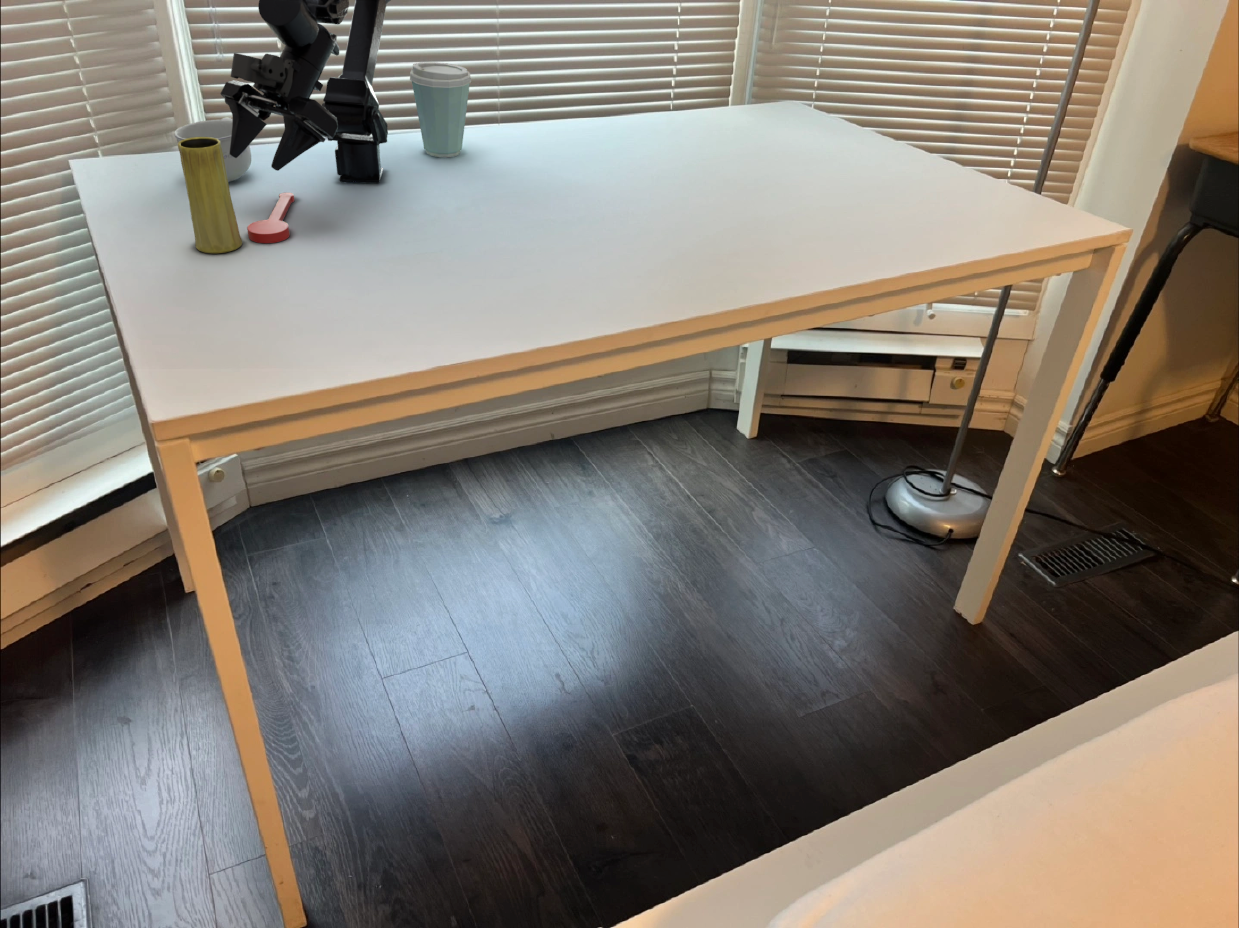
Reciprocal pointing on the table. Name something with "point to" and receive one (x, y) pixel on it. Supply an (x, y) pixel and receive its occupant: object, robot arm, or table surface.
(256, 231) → the spoon
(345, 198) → the table surface
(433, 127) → the disposable coffee cup
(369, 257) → the table surface
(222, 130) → the teacup
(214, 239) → the vase
